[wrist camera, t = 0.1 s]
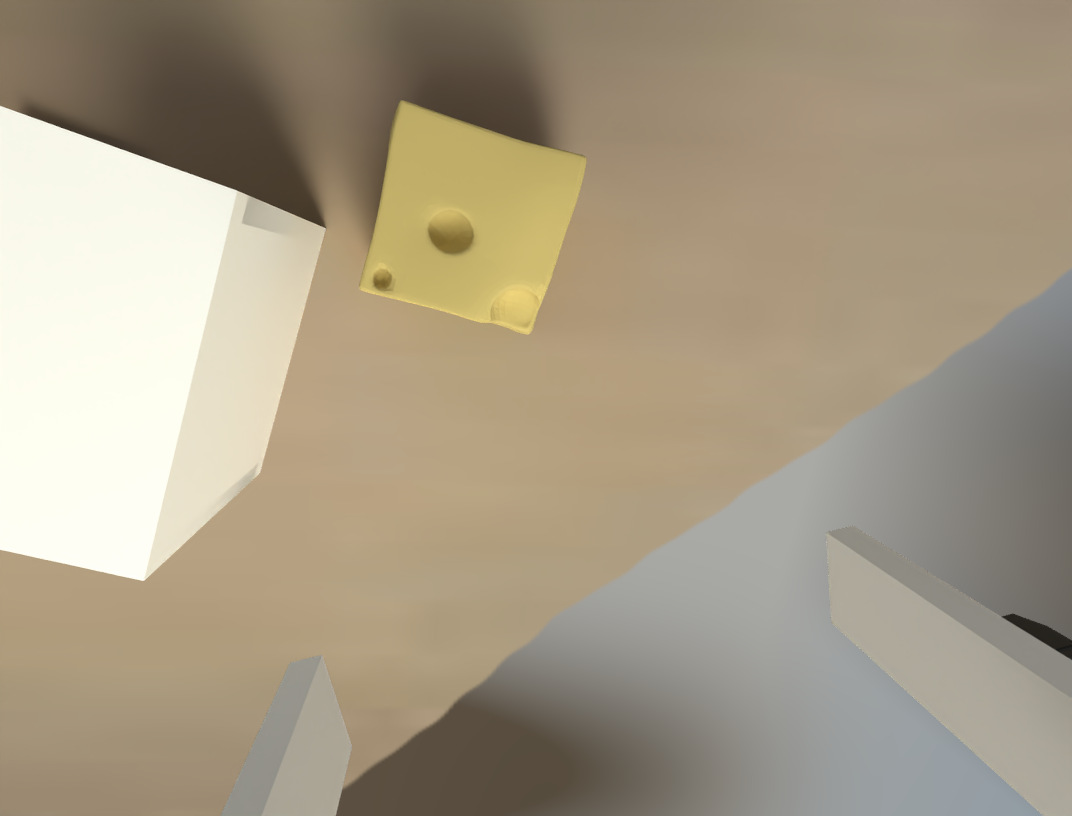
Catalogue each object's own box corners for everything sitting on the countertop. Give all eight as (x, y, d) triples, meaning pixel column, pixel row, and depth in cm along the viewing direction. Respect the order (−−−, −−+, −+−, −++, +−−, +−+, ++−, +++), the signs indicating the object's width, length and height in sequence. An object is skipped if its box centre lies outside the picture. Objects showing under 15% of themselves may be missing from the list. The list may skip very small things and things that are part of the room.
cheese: (521, 332, 40) (540, 346, 30) (373, 290, 38) (343, 291, 28) (561, 187, 38) (595, 154, 29) (408, 135, 36) (389, 81, 27)
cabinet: (31, 123, 33) (-302, -2, 19) (325, 228, 37) (237, 190, 22) (-17, 399, 36) (-337, 476, 22) (260, 473, 40) (143, 580, 25)
